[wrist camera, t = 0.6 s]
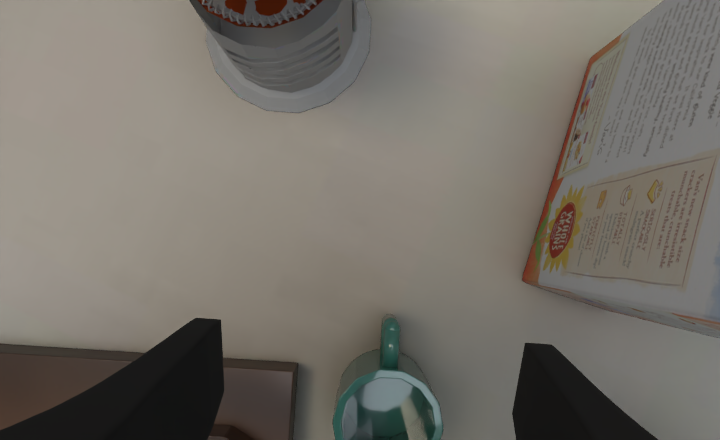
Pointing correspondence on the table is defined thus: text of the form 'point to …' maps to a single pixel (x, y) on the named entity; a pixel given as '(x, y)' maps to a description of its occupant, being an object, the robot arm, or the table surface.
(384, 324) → the coffee mug
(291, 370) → the stand
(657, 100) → the cracker box
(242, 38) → the french press
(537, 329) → the table surface
